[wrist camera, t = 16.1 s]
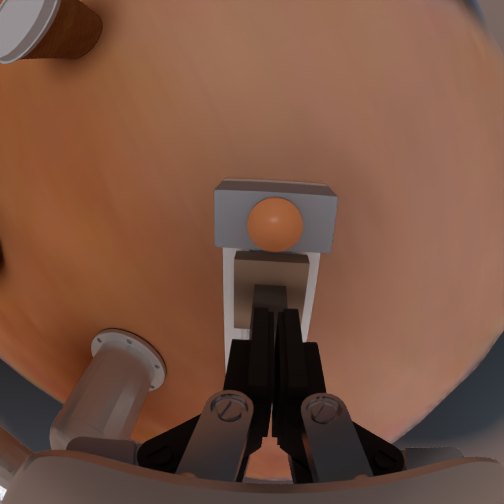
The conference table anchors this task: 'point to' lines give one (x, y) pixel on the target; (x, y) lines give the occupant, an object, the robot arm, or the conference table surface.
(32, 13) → the disposable coffee cup
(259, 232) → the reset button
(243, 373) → the robot arm
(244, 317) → the carriage
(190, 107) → the conference table surface
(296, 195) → the rail track
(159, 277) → the conference table surface
